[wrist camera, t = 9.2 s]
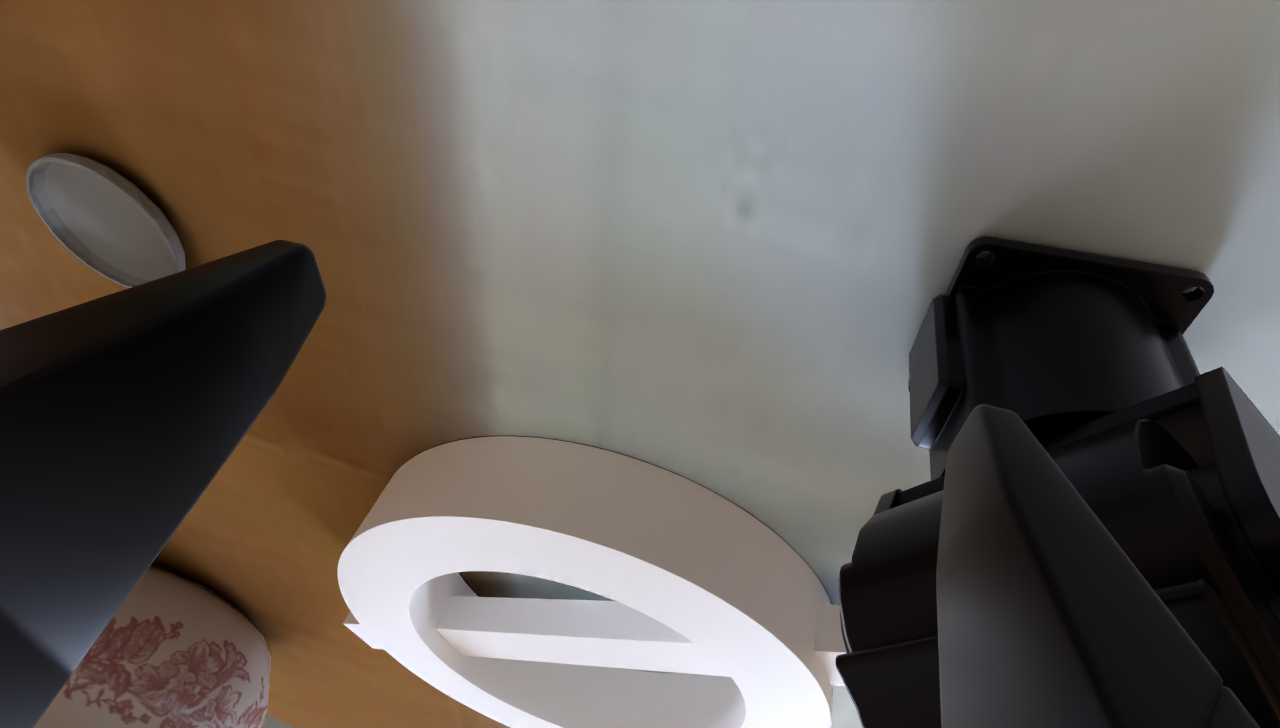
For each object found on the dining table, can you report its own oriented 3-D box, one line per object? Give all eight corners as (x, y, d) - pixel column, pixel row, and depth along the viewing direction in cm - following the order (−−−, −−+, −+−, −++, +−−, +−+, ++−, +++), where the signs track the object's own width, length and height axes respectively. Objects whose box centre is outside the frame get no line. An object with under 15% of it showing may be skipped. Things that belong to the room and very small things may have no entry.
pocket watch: (28, 117, 27) (-271, 257, 20) (228, 215, 28) (6, 383, 21) (71, 262, 33) (-150, 410, 26) (236, 340, 34) (65, 504, 27)
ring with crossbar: (367, 588, 51) (330, 649, 47) (409, 349, 31) (350, 427, 27) (706, 736, 53) (693, 805, 49) (951, 602, 33) (958, 703, 30)
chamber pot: (328, 700, 75) (191, 937, 60) (89, 601, 74) (-110, 819, 59) (326, 602, 55) (121, 921, 40) (-2, 464, 54) (-335, 743, 39)
